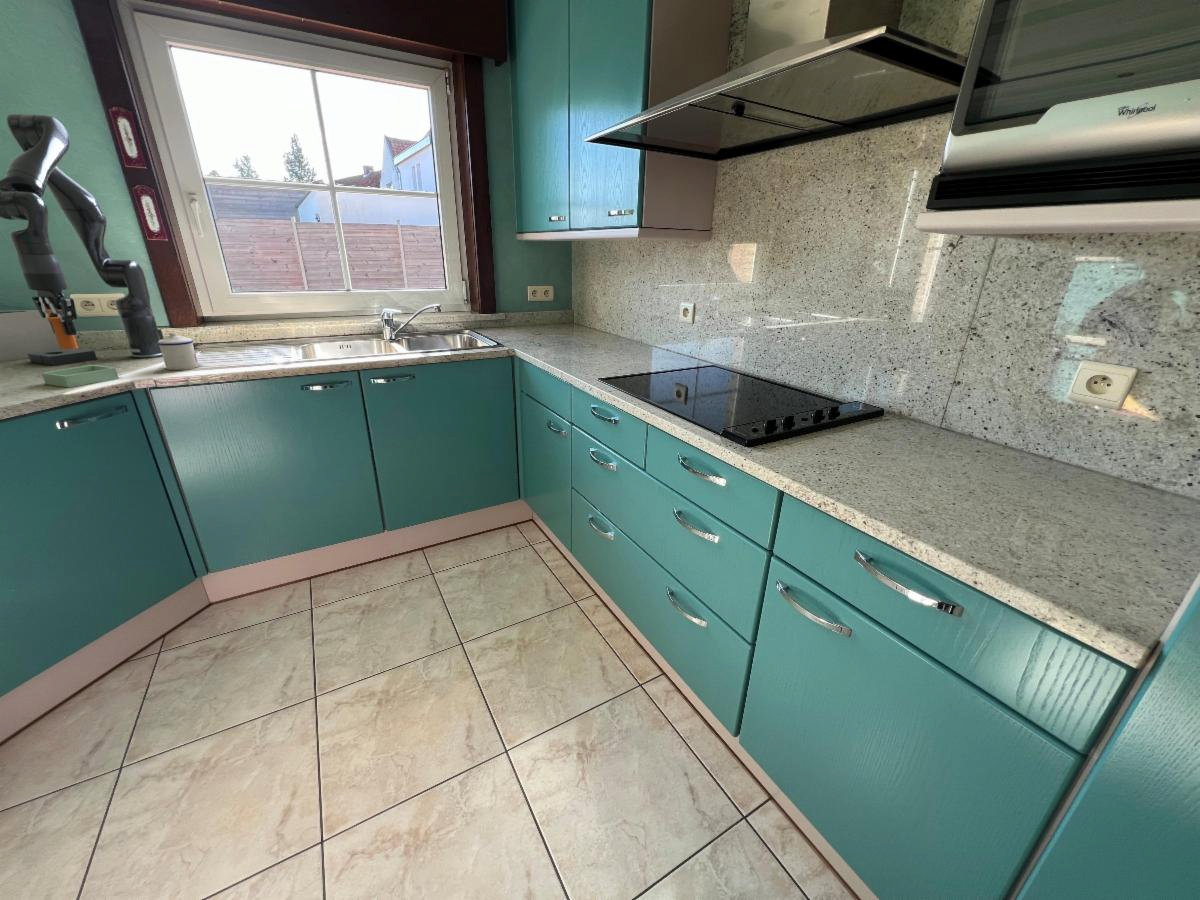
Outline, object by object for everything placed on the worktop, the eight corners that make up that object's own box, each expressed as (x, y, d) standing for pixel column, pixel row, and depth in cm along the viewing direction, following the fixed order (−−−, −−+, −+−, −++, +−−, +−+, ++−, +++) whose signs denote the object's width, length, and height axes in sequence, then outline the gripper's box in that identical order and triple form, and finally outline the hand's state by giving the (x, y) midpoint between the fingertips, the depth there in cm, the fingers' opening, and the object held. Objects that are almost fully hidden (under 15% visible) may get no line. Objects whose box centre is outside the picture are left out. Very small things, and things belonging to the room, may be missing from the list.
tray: (96, 375, 153) (93, 364, 152) (118, 378, 151) (115, 367, 149) (45, 384, 143) (41, 372, 141) (68, 387, 140) (64, 376, 139)
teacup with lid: (205, 366, 168) (196, 332, 164) (175, 371, 160) (164, 335, 156) (185, 362, 173) (175, 329, 168) (154, 367, 165) (143, 332, 161)
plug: (74, 346, 145) (64, 316, 142) (85, 348, 144) (75, 317, 141) (53, 349, 141) (42, 317, 138) (64, 350, 140) (53, 318, 137)
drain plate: (75, 356, 177) (72, 347, 176) (97, 359, 174) (94, 350, 173) (30, 362, 166) (26, 353, 165) (52, 365, 163) (49, 356, 162)
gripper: (76, 272, 136) (97, 334, 143) (43, 270, 140) (66, 330, 147) (40, 273, 130) (65, 338, 136) (7, 271, 134) (32, 334, 140)
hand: (65, 334), depth 141 cm, fingers closed on plug, 4 cm apart
